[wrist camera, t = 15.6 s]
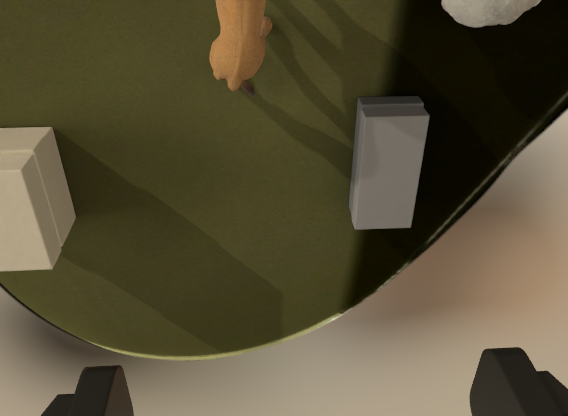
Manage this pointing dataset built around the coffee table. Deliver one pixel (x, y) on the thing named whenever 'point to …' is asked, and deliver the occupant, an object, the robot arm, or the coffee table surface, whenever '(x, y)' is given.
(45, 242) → the cream flat block
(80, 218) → the coffee table surface
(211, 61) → the lion figurine
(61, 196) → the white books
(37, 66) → the coffee table surface
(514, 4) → the grey stone
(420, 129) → the grey block
